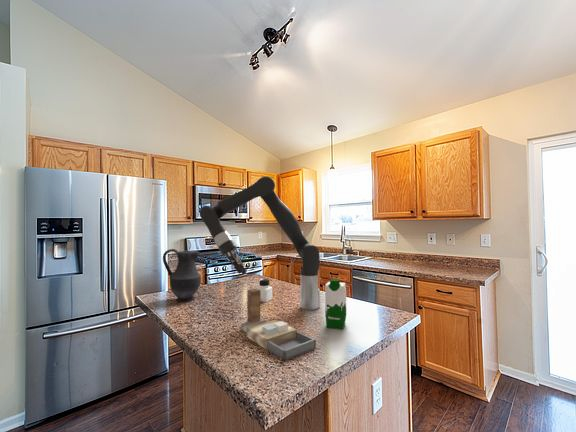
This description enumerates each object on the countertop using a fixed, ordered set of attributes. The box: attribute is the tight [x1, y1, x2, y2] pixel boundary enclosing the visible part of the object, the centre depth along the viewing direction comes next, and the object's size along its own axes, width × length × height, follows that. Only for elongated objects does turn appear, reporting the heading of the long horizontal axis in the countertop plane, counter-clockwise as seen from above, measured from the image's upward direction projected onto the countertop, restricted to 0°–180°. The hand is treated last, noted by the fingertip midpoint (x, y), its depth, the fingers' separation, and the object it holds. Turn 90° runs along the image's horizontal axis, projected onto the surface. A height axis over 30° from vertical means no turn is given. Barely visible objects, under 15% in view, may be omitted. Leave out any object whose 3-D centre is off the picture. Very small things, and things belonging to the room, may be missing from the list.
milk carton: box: [324, 278, 347, 330], centre depth 117 cm, size 9×9×20 cm
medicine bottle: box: [255, 278, 273, 303], centre depth 157 cm, size 7×7×12 cm
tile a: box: [274, 320, 289, 332], centre depth 104 cm, size 4×4×2 cm
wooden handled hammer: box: [240, 288, 267, 333], centre depth 114 cm, size 4×10×16 cm, turn 129°
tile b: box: [262, 324, 277, 335], centre depth 101 cm, size 4×4×2 cm
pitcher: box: [162, 248, 202, 303], centre depth 157 cm, size 17×21×30 cm
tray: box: [266, 330, 317, 362], centre depth 94 cm, size 10×14×3 cm
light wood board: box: [246, 319, 298, 350], centre depth 104 cm, size 14×14×4 cm
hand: (243, 273), depth 122 cm, fingers open, 8 cm apart
